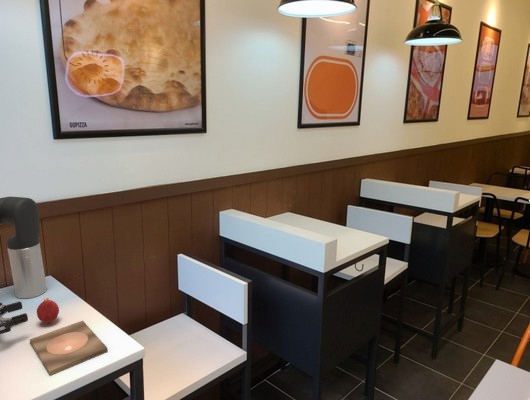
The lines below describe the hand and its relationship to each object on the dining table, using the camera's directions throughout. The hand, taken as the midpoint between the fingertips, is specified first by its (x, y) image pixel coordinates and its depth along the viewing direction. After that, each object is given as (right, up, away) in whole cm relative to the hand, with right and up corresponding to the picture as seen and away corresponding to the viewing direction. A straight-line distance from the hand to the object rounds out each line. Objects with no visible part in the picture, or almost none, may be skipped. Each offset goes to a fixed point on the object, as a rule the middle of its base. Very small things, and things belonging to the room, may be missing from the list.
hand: (24, 310), depth 117 cm
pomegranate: (+5, -5, +5) cm, 8 cm away
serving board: (+16, -8, -7) cm, 19 cm away
